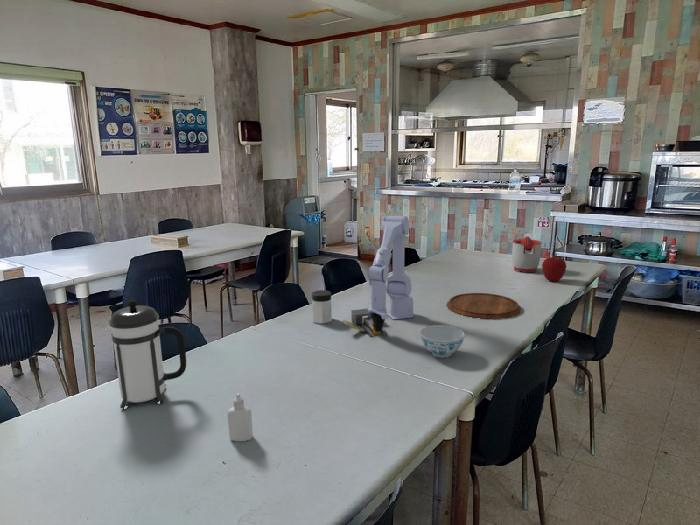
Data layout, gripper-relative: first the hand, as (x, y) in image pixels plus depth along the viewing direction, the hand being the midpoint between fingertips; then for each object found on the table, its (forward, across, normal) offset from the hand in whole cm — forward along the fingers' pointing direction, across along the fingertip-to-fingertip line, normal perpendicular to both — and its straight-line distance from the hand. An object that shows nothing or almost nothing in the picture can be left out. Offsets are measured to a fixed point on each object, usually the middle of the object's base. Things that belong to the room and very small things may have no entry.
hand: (378, 331), depth 185 cm
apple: (+2, -41, +114) cm, 121 cm away
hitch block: (+2, -9, 0) cm, 9 cm away
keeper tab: (0, -6, -8) cm, 10 cm away
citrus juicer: (+2, -64, +114) cm, 131 cm away
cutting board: (+3, -16, +56) cm, 58 cm away
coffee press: (+2, +22, -80) cm, 83 cm away
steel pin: (+2, -8, 0) cm, 9 cm away
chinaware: (+2, +23, +15) cm, 27 cm away
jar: (+2, -24, -16) cm, 29 cm away
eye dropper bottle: (+2, +52, -56) cm, 76 cm away
